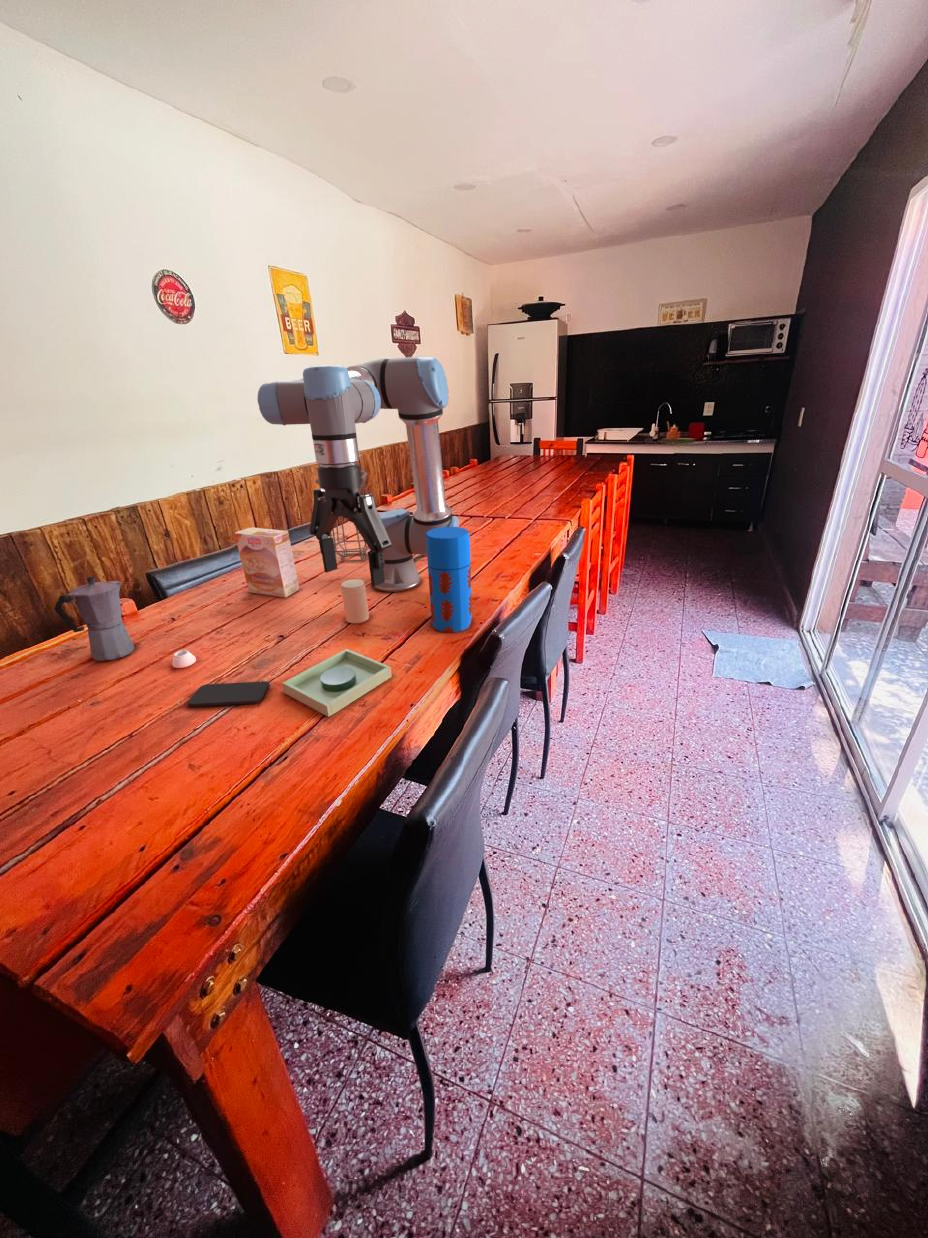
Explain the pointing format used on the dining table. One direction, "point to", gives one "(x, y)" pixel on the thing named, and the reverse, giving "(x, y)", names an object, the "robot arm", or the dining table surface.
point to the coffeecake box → (267, 561)
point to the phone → (229, 694)
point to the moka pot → (99, 618)
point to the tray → (328, 703)
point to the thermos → (449, 578)
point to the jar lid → (338, 679)
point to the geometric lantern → (356, 531)
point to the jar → (355, 601)
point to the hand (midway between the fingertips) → (353, 577)
